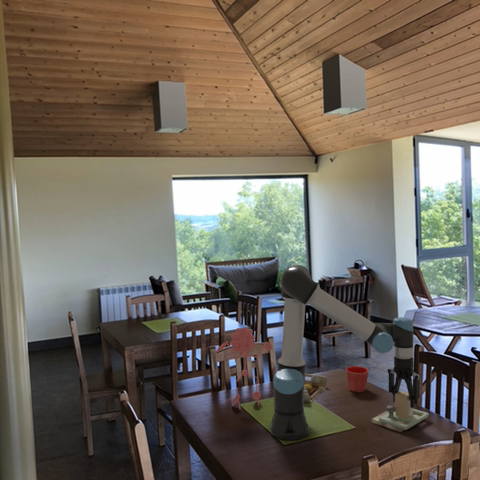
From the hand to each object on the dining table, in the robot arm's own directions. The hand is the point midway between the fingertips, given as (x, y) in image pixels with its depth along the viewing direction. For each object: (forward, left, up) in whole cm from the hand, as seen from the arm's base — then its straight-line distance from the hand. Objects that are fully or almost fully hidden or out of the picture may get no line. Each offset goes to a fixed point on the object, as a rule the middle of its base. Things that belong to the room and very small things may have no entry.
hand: (403, 412), depth 200 cm
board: (-3, 0, -4) cm, 5 cm away
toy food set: (-53, -3, -5) cm, 53 cm away
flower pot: (-35, +19, -4) cm, 40 cm away
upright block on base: (0, 0, -2) cm, 2 cm away
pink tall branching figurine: (-62, -31, -4) cm, 70 cm away
